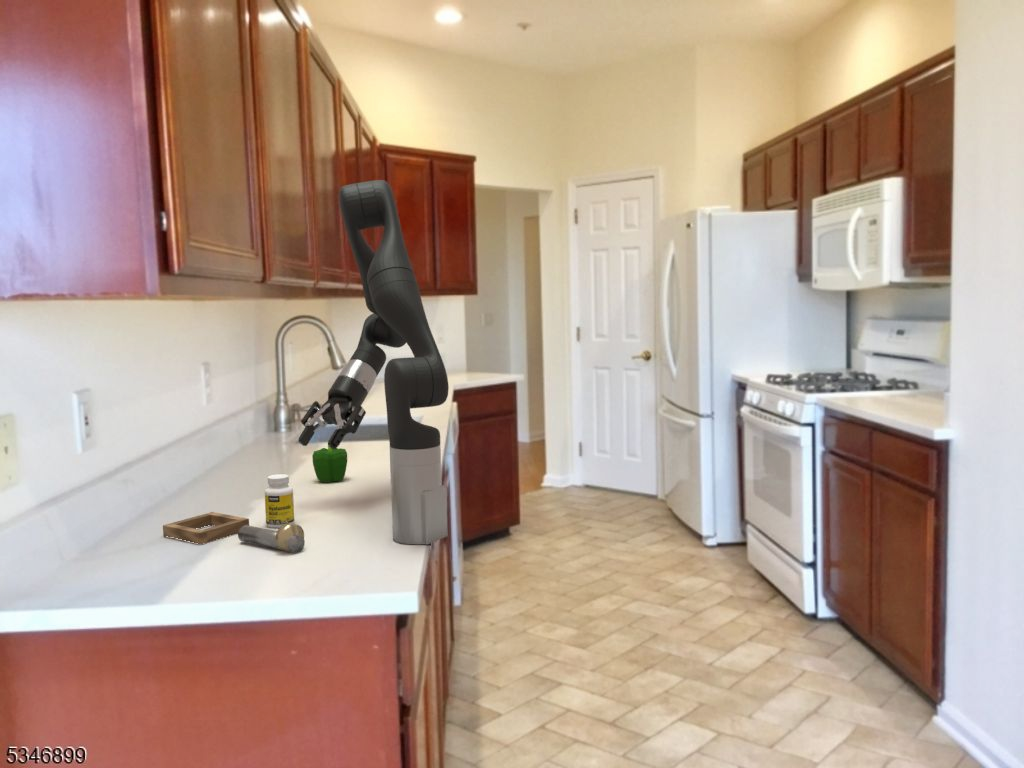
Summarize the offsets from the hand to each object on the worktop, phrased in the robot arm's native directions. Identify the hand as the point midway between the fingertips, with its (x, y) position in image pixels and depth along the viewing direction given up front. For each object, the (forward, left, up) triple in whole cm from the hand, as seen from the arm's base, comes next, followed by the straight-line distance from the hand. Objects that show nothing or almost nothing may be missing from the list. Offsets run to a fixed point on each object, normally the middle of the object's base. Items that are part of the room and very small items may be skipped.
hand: (316, 445), depth 163 cm
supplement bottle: (0, +10, -14) cm, 18 cm away
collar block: (+8, +21, -14) cm, 27 cm away
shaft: (-10, +21, -14) cm, 28 cm away
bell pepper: (+20, -24, -14) cm, 34 cm away
